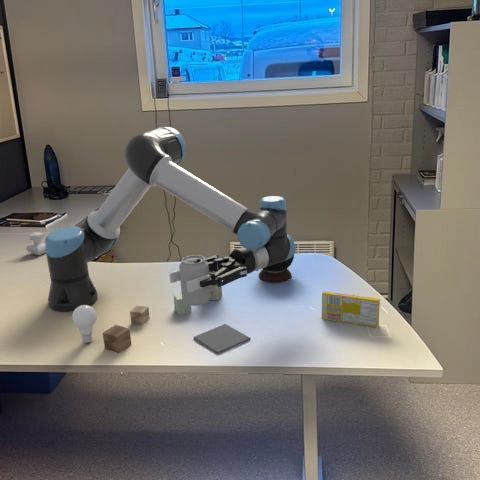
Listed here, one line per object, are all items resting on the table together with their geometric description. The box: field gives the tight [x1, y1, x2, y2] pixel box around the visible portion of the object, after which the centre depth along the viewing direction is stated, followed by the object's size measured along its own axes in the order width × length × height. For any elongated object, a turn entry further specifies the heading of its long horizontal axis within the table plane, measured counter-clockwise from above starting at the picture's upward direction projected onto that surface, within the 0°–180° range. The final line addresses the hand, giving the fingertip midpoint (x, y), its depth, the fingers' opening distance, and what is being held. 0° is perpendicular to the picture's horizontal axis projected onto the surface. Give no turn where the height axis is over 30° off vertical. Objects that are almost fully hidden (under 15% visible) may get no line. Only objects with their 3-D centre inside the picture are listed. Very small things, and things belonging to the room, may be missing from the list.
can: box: [178, 254, 211, 307], centre depth 146 cm, size 8×8×12 cm
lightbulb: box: [71, 305, 97, 344], centre depth 152 cm, size 6×6×11 cm
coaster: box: [193, 323, 251, 355], centre depth 153 cm, size 11×11×1 cm
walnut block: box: [102, 324, 132, 354], centre depth 151 cm, size 5×5×5 cm
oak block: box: [129, 305, 150, 326], centre depth 164 cm, size 4×4×4 cm
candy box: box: [321, 290, 381, 329], centre depth 159 cm, size 16×2×8 cm, turn 66°
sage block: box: [173, 292, 192, 316], centre depth 170 cm, size 4×4×5 cm
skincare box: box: [208, 265, 223, 301], centre depth 177 cm, size 6×4×12 cm
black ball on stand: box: [258, 255, 295, 284], centre depth 190 cm, size 13×13×15 cm
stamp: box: [25, 231, 46, 256], centre depth 222 cm, size 9×7×8 cm
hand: (179, 282), depth 143 cm, fingers closed on can, 7 cm apart
